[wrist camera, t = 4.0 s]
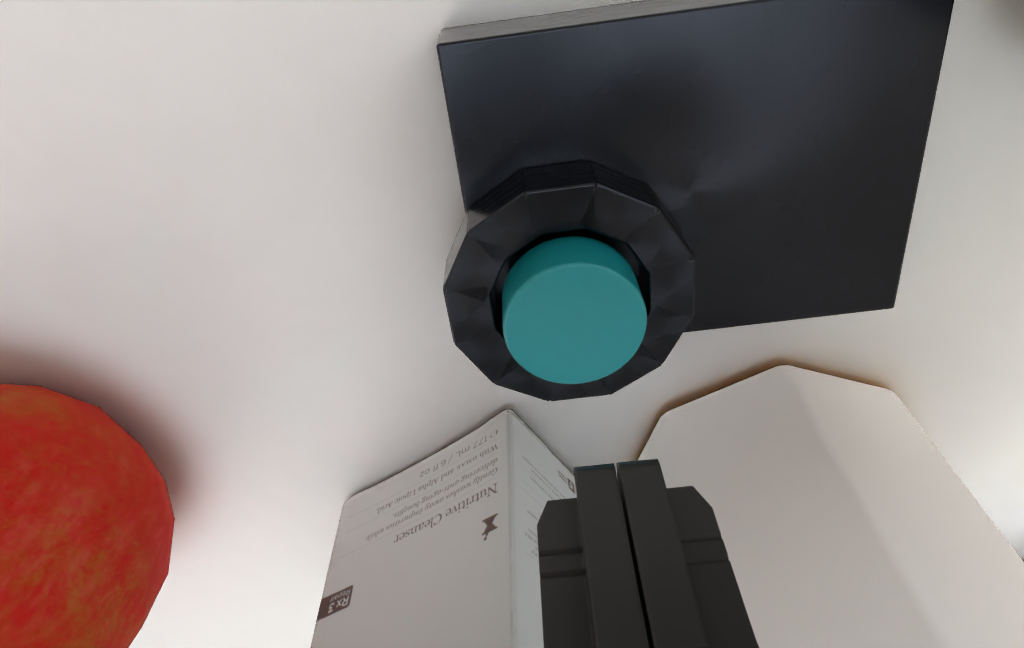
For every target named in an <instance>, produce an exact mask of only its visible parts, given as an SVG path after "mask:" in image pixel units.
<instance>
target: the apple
mask: <svg viewBox="0 0 1024 648" xmlns="http://www.w3.org/2000/svg"><path fill="white" fill-rule="evenodd" d="M174 520H175V518H174V514H173V510H172V506H171V502H170V498H169V494H168V490H167V486H166V482H165V480H164V478H163V477H162V475H161V474H160V472H159V471H158V469H157V468H156V466H155V465H154V463H153V462H152V460H151V459H150V457H149V456H148V454H147V453H146V451H145V450H144V449H143V447H142V446H141V444H139V443H138V442H137V441H136V440H135V439H134V438H133V437H132V436H131V435H129V434H128V433H127V432H126V431H125V430H124V429H123V428H122V427H121V426H119V425H118V424H117V423H116V422H115V421H114V420H113V419H112V418H111V417H110V416H108V415H107V414H106V413H105V412H104V411H103V410H102V409H101V408H100V407H97V406H94V405H92V404H89V403H86V402H83V401H80V400H78V399H75V398H72V397H69V396H67V395H64V394H61V393H58V392H56V391H53V390H50V389H47V388H45V387H42V386H30V385H13V384H0V648H128V647H129V646H130V644H131V643H132V641H133V640H134V638H135V637H136V635H137V634H138V632H139V631H140V629H141V628H142V626H143V624H144V622H145V620H146V618H147V616H148V614H149V612H150V610H151V607H152V605H153V603H154V601H155V599H156V597H157V595H158V593H159V591H160V589H161V587H162V585H163V583H164V581H165V579H166V577H167V575H168V571H169V562H170V554H171V545H172V537H173V528H174Z"/></svg>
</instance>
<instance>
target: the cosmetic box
mask: <svg viewBox="0 0 1024 648" xmlns="http://www.w3.org/2000/svg"><path fill="white" fill-rule="evenodd" d="M569 498H577V495H576V486H575V477H574V476H573V475H572V474H571V473H570V472H569V471H568V469H567V468H566V467H565V466H564V465H563V464H562V463H561V462H560V461H559V460H558V459H557V458H556V457H555V456H554V455H553V453H552V452H551V451H550V450H549V449H548V448H547V447H546V445H545V444H544V443H543V442H542V441H541V440H540V439H539V438H538V437H537V436H536V435H535V434H534V433H533V432H532V431H531V430H530V429H529V428H528V426H527V425H526V424H525V423H524V422H523V421H522V420H521V419H520V418H519V417H518V416H517V415H516V414H515V413H514V412H513V411H512V410H510V409H508V410H504V411H502V412H501V413H499V414H498V415H497V416H495V417H494V418H492V419H490V420H489V421H488V422H487V423H485V424H484V425H483V426H481V427H479V428H478V429H476V430H475V431H473V432H471V433H470V434H468V435H466V436H465V437H463V438H461V439H460V440H458V441H456V442H454V443H453V444H451V445H449V446H448V447H446V448H444V449H442V450H441V451H439V452H437V453H435V454H434V455H432V456H430V457H428V458H426V459H424V460H423V461H421V462H419V463H417V464H415V465H413V466H412V467H410V468H408V469H406V470H404V471H402V472H400V473H398V474H396V475H395V476H393V477H391V478H389V479H387V480H385V481H383V482H381V483H379V484H377V485H375V486H373V487H371V488H369V489H366V490H364V491H362V492H359V493H358V494H356V495H354V496H352V497H351V498H349V499H348V500H347V501H346V502H345V503H344V505H343V507H342V512H341V516H340V520H339V525H338V529H337V534H336V538H335V542H334V546H333V551H332V555H331V560H330V564H329V568H328V573H327V577H326V582H325V586H324V591H323V595H322V600H321V604H320V608H319V612H318V616H317V621H316V626H315V630H314V635H313V639H312V644H311V648H544V641H543V624H542V606H541V589H540V571H539V552H538V536H537V524H538V521H539V519H540V517H541V514H542V512H543V510H544V507H545V505H546V503H547V501H549V500H559V499H569Z"/></svg>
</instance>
